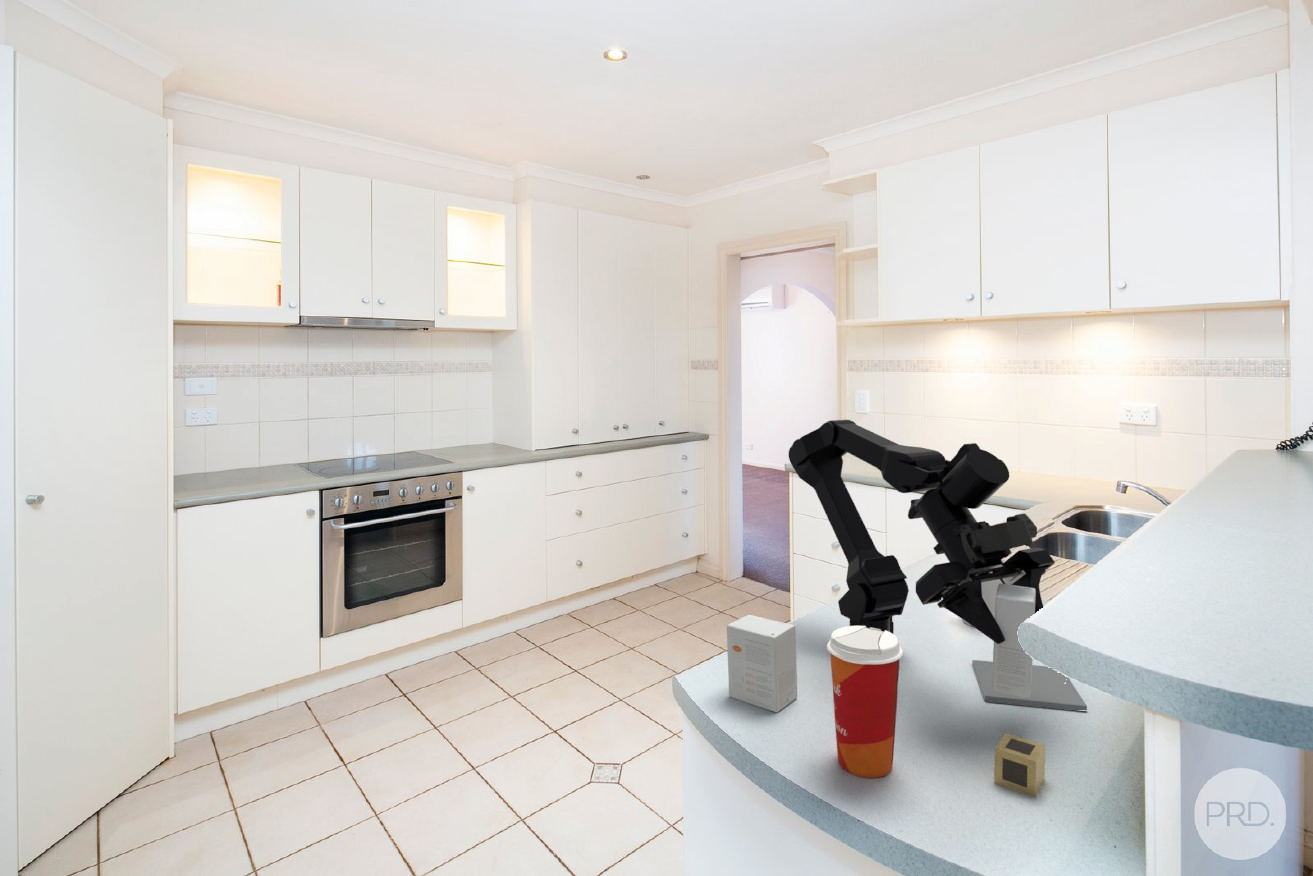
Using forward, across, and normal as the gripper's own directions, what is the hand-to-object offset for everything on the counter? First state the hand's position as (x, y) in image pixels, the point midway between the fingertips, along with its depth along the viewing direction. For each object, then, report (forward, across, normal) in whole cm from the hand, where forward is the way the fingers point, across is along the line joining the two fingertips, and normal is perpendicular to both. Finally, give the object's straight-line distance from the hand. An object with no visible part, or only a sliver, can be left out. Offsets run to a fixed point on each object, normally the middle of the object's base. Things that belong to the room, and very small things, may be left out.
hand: (1024, 637), depth 81 cm
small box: (-6, -23, +25) cm, 35 cm away
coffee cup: (+7, -21, +11) cm, 25 cm away
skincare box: (+4, 0, +6) cm, 7 cm away
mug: (-12, +27, +31) cm, 43 cm away
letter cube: (+14, -8, +4) cm, 16 cm away
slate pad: (+3, +11, +15) cm, 19 cm away
